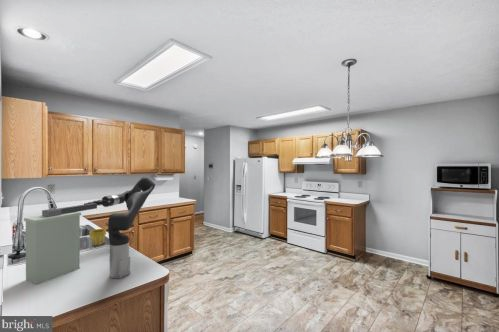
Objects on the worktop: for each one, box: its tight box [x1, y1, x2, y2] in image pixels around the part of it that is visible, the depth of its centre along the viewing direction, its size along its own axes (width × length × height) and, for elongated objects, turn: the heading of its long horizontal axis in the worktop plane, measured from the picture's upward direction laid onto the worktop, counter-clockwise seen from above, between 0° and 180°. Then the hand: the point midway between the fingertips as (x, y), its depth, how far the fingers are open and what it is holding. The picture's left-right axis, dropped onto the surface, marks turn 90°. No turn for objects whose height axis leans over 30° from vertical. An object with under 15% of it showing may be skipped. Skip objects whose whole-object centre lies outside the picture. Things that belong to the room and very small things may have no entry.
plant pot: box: [89, 228, 107, 246], centre depth 175 cm, size 10×10×10 cm
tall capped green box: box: [23, 211, 82, 286], centre depth 128 cm, size 21×11×32 cm, turn 155°
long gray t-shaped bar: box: [41, 203, 98, 217], centre depth 136 cm, size 26×6×3 cm, turn 155°
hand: (88, 204), depth 155 cm, fingers open, 8 cm apart
